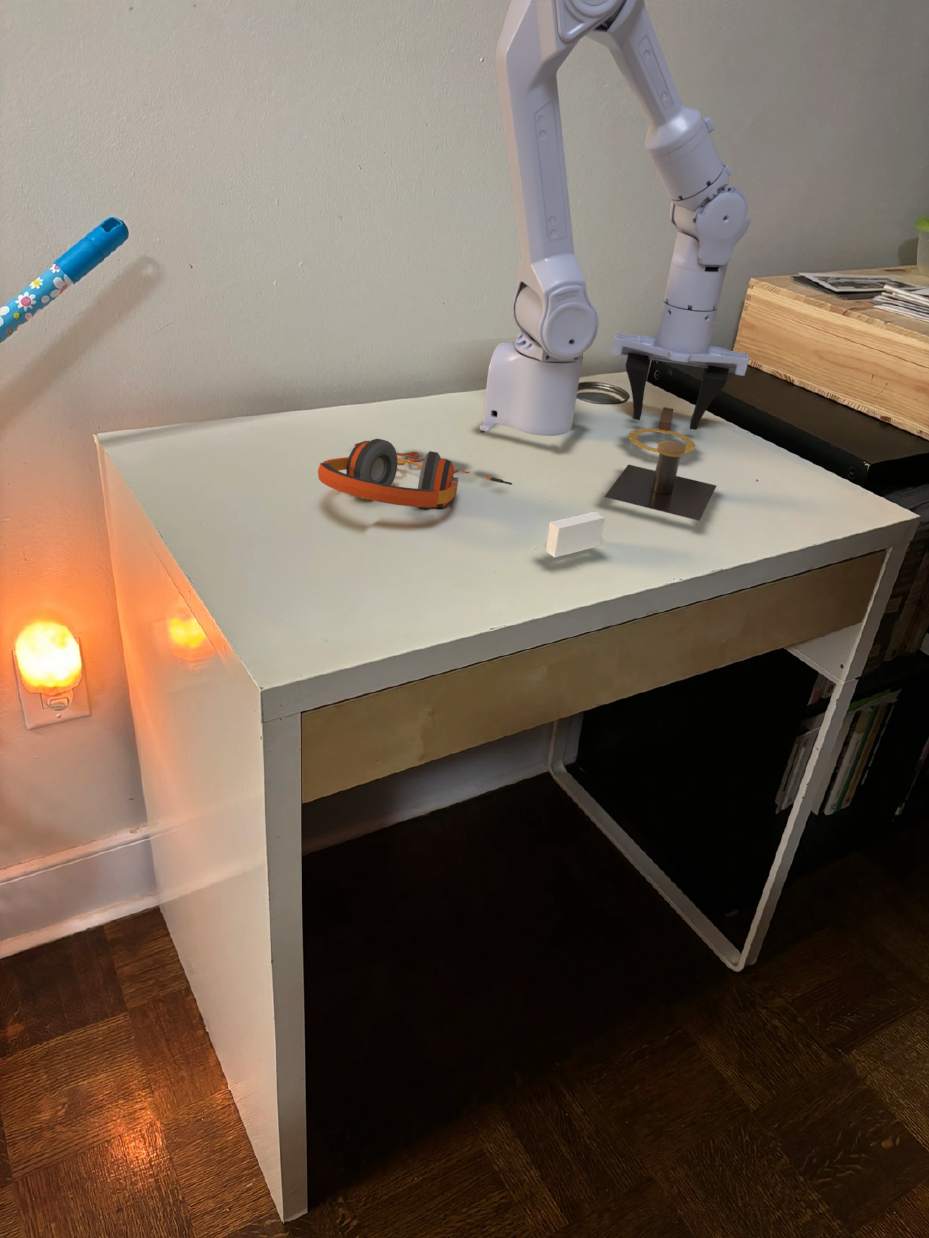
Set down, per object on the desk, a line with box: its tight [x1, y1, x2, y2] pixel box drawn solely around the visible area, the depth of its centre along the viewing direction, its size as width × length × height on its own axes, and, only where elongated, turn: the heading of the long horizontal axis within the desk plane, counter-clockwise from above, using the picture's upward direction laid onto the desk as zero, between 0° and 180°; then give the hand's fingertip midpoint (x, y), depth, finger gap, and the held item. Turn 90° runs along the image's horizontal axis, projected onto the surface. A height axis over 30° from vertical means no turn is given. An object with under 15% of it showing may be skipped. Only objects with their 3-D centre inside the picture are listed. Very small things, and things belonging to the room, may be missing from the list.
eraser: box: [545, 511, 606, 558], centre depth 77 cm, size 1×5×4 cm, turn 123°
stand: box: [604, 440, 717, 522], centre depth 88 cm, size 9×9×6 cm
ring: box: [627, 406, 696, 455], centre depth 102 cm, size 12×7×2 cm, turn 166°
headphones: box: [317, 438, 513, 510], centre depth 83 cm, size 17×5×20 cm
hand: (664, 426), depth 106 cm, fingers open, 6 cm apart
